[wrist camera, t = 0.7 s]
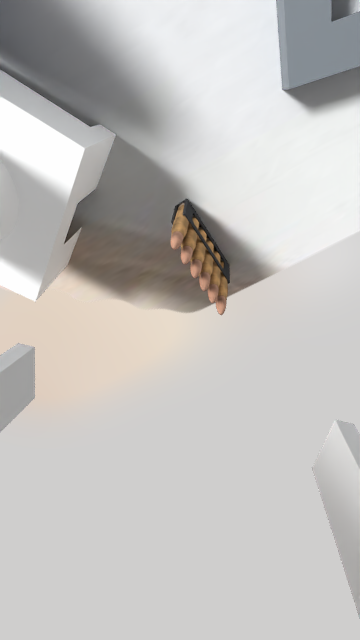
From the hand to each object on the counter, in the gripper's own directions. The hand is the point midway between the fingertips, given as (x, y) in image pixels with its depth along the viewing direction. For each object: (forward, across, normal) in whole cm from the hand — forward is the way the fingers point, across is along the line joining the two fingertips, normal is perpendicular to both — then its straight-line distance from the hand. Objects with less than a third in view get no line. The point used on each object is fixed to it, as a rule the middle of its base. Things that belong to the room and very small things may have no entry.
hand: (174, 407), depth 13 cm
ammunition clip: (+30, -2, +4) cm, 31 cm away
